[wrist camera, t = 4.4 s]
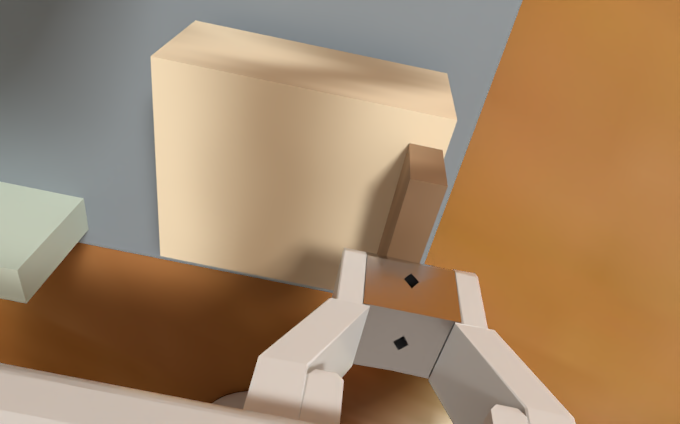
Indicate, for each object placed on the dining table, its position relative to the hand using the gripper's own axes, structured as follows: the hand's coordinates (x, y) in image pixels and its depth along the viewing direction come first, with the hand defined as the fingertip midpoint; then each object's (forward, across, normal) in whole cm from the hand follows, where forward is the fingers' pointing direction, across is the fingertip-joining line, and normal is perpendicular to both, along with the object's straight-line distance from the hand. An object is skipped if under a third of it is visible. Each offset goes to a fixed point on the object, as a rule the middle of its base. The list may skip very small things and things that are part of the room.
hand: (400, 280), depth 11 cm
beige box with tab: (+6, +3, 0) cm, 7 cm away
